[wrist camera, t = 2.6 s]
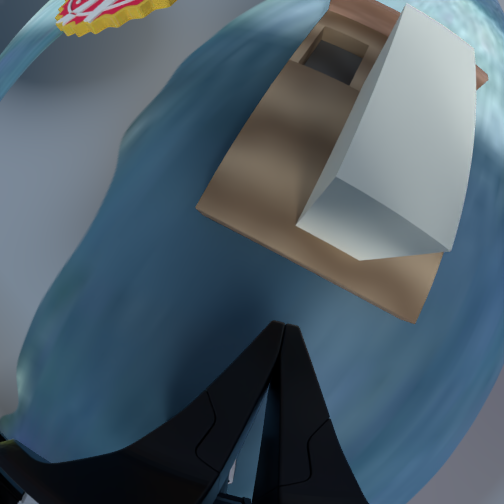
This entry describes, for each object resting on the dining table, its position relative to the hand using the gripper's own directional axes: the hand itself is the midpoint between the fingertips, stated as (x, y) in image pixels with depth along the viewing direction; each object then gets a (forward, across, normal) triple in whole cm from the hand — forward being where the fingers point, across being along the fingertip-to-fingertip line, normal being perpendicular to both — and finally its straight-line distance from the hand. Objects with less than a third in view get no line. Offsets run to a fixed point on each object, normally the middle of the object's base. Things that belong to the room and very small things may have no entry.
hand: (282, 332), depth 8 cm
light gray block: (+15, -4, -3) cm, 15 cm away
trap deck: (+19, -4, -5) cm, 20 cm away
